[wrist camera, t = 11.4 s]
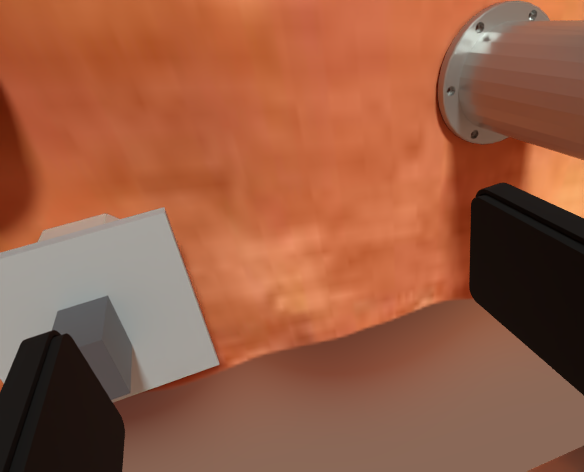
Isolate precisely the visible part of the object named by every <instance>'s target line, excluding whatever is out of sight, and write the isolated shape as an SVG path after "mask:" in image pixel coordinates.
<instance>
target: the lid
mask: <svg viewBox="0 0 584 472" xmlns="http://www.w3.org/2000/svg"><path fill="white" fill-rule="evenodd" d="M52 330H56V331H58V332H59V333H60V334H61V335H62V334H65V333H67V334H69V335H70V336H71V337H72V338H73V340H74V341H75V343H76V345H77V346H78V348H79V349H80V351H81V353H82V354H83V356H84V357H85V359H86V361H87V362H88V364H89V365H90V367H91V369H92V370H93V372H94V374H95V375H96V377H97V378H98V380H99V382H100V383H101V385H102V386H103V388H104V390H105V391H106V393H107V394H108V396H109V398H110V399H111V401H112V402H116V401H119V400H122V399H125V398H127V397H130V396H133V395H136V394H139V393H141V392H144V391H147V390H150V389H153V388H155V387H158V386H161V385H164V384H167V383H169V382H172V381H175V380H178V379H181V378H183V377H186V376H189V375H192V374H195V373H197V372H200V371H203V370H206V369H209V368H211V367H214V366H217V365H219V360H218V356H217V353H216V351H215V348H214V345H213V342H212V339H211V337H210V334H209V331H208V328H207V325H206V323H205V320H204V317H203V314H202V311H201V309H200V306H199V303H198V300H197V297H196V295H195V292H194V289H193V286H192V283H191V281H190V278H189V275H188V272H187V269H186V267H185V264H184V261H183V258H182V255H181V253H180V250H179V247H178V244H177V241H176V239H175V236H174V233H173V230H172V227H171V225H170V222H169V219H168V216H167V214H166V211H165V208H164V207H163V208H159V209H156V210H152V211H149V212H145V213H141V214H138V215H134V216H131V217H127V218H123V219H120V220H116V221H113V222H109V223H106V224H102V225H98V226H95V227H91V228H88V229H84V230H80V231H77V232H73V233H70V234H66V235H62V236H59V237H55V238H52V239H48V240H45V241H41V242H37V243H34V244H30V245H27V246H23V247H19V248H16V249H12V250H9V251H5V252H1V253H0V379H1V380H2V381H3V383H4V382H5V380H6V378H7V375H8V373H9V370H10V368H11V366H12V363H13V361H14V358H15V356H16V354H17V351H18V349H19V346H20V344H21V343H22V341H23V340H25V339H28V338H31V337H34V336H37V335H40V334H43V333H46V332H49V331H52Z"/></svg>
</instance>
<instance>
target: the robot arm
mask: <svg viewBox="0 0 584 472" xmlns="http://www.w3.org/2000/svg"><path fill="white" fill-rule="evenodd" d="M438 101H439V108H440V111H441V114H442V118H443V120H444V121H445V123H446V125H447V127H448V128H449V129H450V130H451V131H452V132H453V133H454V134H455V135H456V136H458V137H460V138H461V139H463V140H466V141H468V142H471V143H476V144H492V143H496V142H499V141H502V140H504V139H506V138H508V137H511V138H514V139H517V140H521V141H524V142H527V143H530V144H533V145H537V146H540V147H543V148H546V149H549V150H553V151H556V152H559V153H562V154H565V155H569V156H572V157H575V158H578V159H581V160H584V20H580V21H550V19H549V18H548V16H547V15H546V14H545V13H544V12H543V11H542V10H541V9H540V8H539V7H537V6H535V5H533V4H531V3H529V2H523V1H505V2H501V3H496V4H493V5H491V6H489V7H487V8H485V9H483V10H482V11H480V12H479V13H477V14H476V15H475V16H473V17H472V18H471V19H470V20H469V21H468V22H467V23H466V24H465V25H464V26H463V27H462V28H461V30H460V31H459V33H458V34H457V35H456V37H455V38H454V40H453V41H452V43H451V45H450V47H449V49H448V51H447V53H446V55H445V58H444V61H443V64H442V67H441V71H440V76H439V81H438ZM469 288H470V292H471V295H472V297H473V298H474V300H475V301H476V302H477V303H478V304H479V305H481V306H482V307H483V308H484V309H485V310H486V311H487V312H489V313H490V314H491V315H492V316H493V317H494V318H495V319H497V320H498V321H499V322H500V323H501V324H502V325H503V326H505V327H506V328H507V329H508V330H509V331H510V332H512V333H513V334H514V335H515V336H516V337H517V338H519V339H520V340H521V341H522V342H523V343H524V344H525V345H527V346H528V347H529V348H530V349H531V350H532V351H533V352H534V353H536V354H537V355H538V356H539V357H540V358H541V359H543V360H544V361H545V362H546V363H547V364H548V365H549V366H551V367H552V368H553V369H554V370H555V371H556V372H557V373H559V374H560V375H561V376H562V377H563V378H564V379H566V380H567V381H568V382H569V383H570V384H571V385H572V386H574V387H575V388H576V389H577V390H578V391H579V392H581V393H582V394H583V395H584V218H581V217H579V216H577V215H575V214H573V213H571V212H568V211H566V210H564V209H562V208H560V207H557V206H555V205H553V204H551V203H549V202H546V201H544V200H542V199H540V198H538V197H536V196H533V195H531V194H529V193H527V192H525V191H522V190H520V189H518V188H516V187H514V186H512V185H509V184H507V183H499V184H496V185H493V186H490V187H487V188H484V189H481V190H479V191H478V192H477V194H476V198H474V199H473V200H472V203H471V237H470V282H469ZM124 438H125V429H124V423H123V420H122V417H121V415H120V414H119V412H118V410H117V409H116V408H115V406H114V404H113V402H112V401H111V399H110V398H109V396H108V394H107V393H106V391H105V390H104V388H103V386H102V385H101V383H100V382H99V380H98V378H97V377H96V375H95V374H94V372H93V370H92V369H91V367H90V365H89V364H88V362H87V361H86V359H85V357H84V356H83V354H82V353H81V351H80V349H79V348H78V346H77V345H76V343H75V341H74V340H73V338H72V337H71V336H70V335H69V334H67V333H65V334H62V335H61V334H60V333H59V332H58V331H56V330H52V331H49V332H46V333H43V334H40V335H37V336H34V337H31V338H28V339H25V340H23V341H22V343H21V344H20V346H19V349H18V351H17V354H16V356H15V358H14V361H13V363H12V366H11V368H10V370H9V373H8V375H7V378H6V380H5V382H4V385H3V387H2V390H1V392H0V472H122V465H123V464H122V463H123V451H124ZM527 472H584V446H582V447H580V448H578V449H575V450H573V451H571V452H569V453H567V454H564V455H562V456H560V457H558V458H555V459H553V460H551V461H549V462H547V463H544V464H542V465H540V466H538V467H536V468H534V469H531V470H529V471H527Z"/></svg>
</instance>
